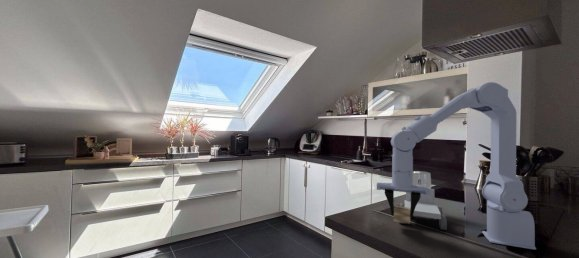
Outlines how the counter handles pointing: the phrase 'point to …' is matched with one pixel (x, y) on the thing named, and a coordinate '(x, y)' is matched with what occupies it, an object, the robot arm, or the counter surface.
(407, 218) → the block
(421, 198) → the trolley
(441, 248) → the counter surface
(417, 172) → the beer glass
